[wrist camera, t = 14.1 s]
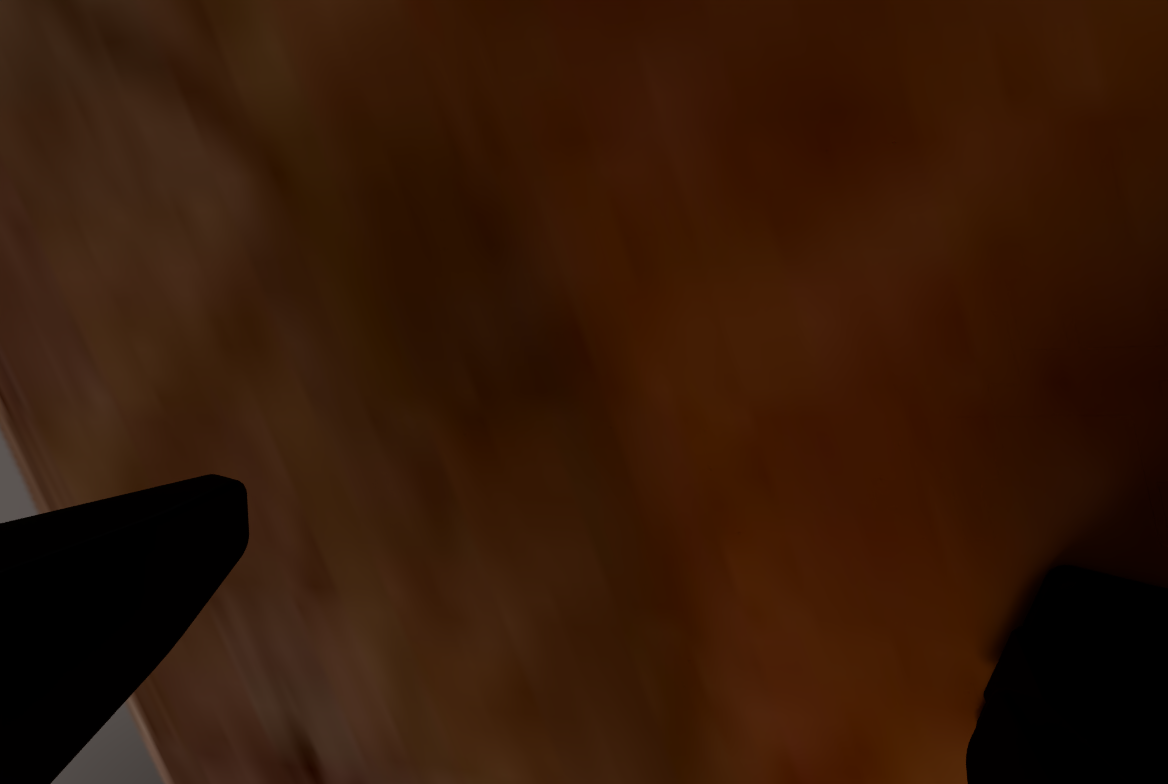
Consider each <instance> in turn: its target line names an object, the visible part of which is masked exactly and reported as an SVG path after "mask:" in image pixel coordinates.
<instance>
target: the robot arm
mask: <svg viewBox="0 0 1168 784" xmlns="http://www.w3.org/2000/svg"><path fill="white" fill-rule="evenodd" d="M248 539H249V524H248V505H247V491H246V488H245V486H244V484H243V483H241V482H240V481H238V480H235V479H231V478H227V477H224V476H220V475H215V474H209V475H204V476H200V477H196V478H192V479H187V480H183V481H179V482H175V483H170V484H166V485H162V486H158V487H153V488H149V489H145V490H141V491H136V492H132V493H128V494H124V495H119V496H115V497H111V498H107V499H102V500H98V501H94V502H90V503H86V504H81V505H77V506H73V507H69V508H64V509H60V510H56V511H52V512H47V513H43V514H39V515H35V516H31V517H26V518H22V519H18V520H13V521H9V522H5V523H1V524H0V784H51V783H52V781H53V780H54V779H55V778H56V777H57V776H58V775H59V774H60V773H61V771H62V770H63V769H64V768H65V767H66V766H67V765H68V764H69V763H70V762H71V761H72V759H73V758H74V757H75V756H76V755H77V754H78V753H79V752H80V750H82V748H83V747H84V746H85V745H86V744H87V743H88V742H89V741H90V739H92V737H93V736H94V735H95V734H96V733H97V732H98V731H99V730H100V729H101V727H102V726H103V725H104V724H105V723H106V722H107V721H108V720H109V719H110V718H111V716H112V715H113V714H114V713H115V712H116V711H117V710H118V709H119V708H120V707H121V706H122V704H123V703H124V702H125V701H126V700H127V699H128V698H129V697H130V696H131V695H132V693H133V692H134V691H135V690H136V689H137V688H138V687H139V686H140V685H141V684H142V682H143V681H144V680H145V679H146V678H147V677H148V676H149V675H150V674H151V673H152V671H153V670H154V669H155V668H156V667H157V666H158V665H159V663H160V662H161V661H162V660H163V659H164V658H165V657H166V655H167V654H168V653H169V652H170V651H171V649H172V648H173V647H174V646H175V644H176V643H177V642H178V641H179V639H180V638H181V637H182V636H183V634H184V633H185V631H186V630H187V629H188V627H189V626H190V625H191V623H192V622H193V621H194V619H195V618H196V617H197V615H198V614H199V613H200V611H201V610H202V609H203V607H204V606H205V605H206V603H207V602H208V601H209V599H210V598H211V597H212V595H213V594H214V593H215V591H216V590H217V589H218V587H219V586H220V585H221V583H222V582H223V581H224V579H225V578H226V577H227V575H228V574H229V573H230V571H231V570H232V569H233V567H234V566H235V565H236V563H237V562H238V561H239V559H240V558H241V557H242V555H243V553H244V551H245V549H246V547H247V544H248ZM1066 582H1076V583H1075V584H1074V585H1073V587H1070V588H1068V589H1062V588H1060V586H1061V585H1062V584H1063V583H1066ZM984 699H985V702H986V704H985V706H984V708H983V710H982V713H981V715H980V717H979V719H978V721H977V724H976V728H975V730H974V733H973V735H972V737H971V739H970V741H969V744H968V748H967V754H966V770H967V781H968V784H1168V589H1166V588H1162V587H1158V586H1153V585H1149V584H1145V583H1141V582H1137V581H1133V580H1129V579H1124V578H1120V577H1116V576H1112V575H1108V574H1104V573H1100V572H1095V571H1091V570H1087V569H1083V568H1079V567H1075V566H1067V565H1063V566H1059V567H1056V568H1054V569H1052V570H1050V571H1049V573H1048V574H1047V575H1046V577H1045V579H1044V581H1043V583H1042V585H1041V587H1040V590H1039V592H1038V594H1037V596H1036V598H1035V600H1034V602H1033V604H1032V606H1031V609H1030V611H1029V613H1028V615H1027V617H1026V619H1025V621H1024V623H1023V626H1020V627H1018V628H1017V629H1015V630H1014V631H1012V633H1011V635H1010V637H1009V639H1008V642H1007V644H1006V646H1005V648H1004V650H1003V652H1002V654H1001V657H1000V659H999V661H998V663H997V665H996V667H995V669H994V672H993V674H992V676H991V678H990V680H989V682H988V685H987V687H986V689H985V691H984Z"/></svg>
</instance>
